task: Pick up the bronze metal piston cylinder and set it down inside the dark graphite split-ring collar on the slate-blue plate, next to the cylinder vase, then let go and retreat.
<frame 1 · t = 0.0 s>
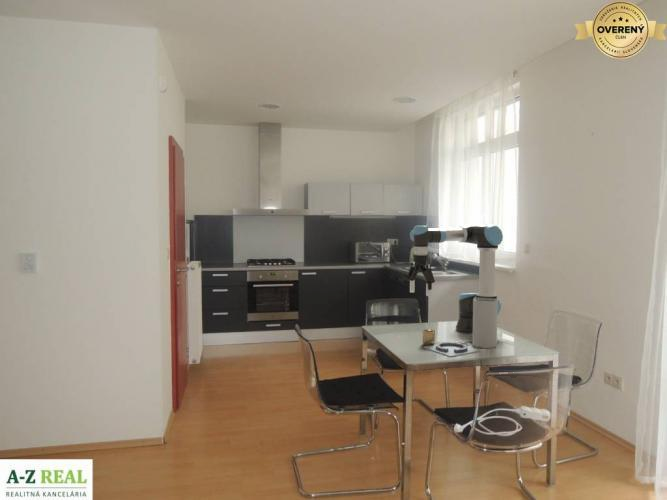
hand: (420, 294, 264), 28 cm above the table, fingers open, 13 cm apart
cylinder vase: (484, 346, 266), on the table
piston ring: (451, 347, 257), on the ring plate, point 1 cm above the table
piston: (428, 345, 267), on the table
ring plate: (451, 349, 258), on the table
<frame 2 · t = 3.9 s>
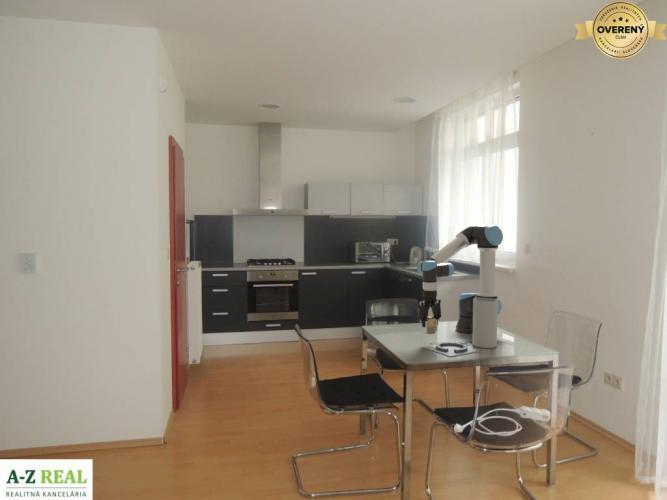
hand: (430, 331, 267), 7 cm above the table, fingers closed on piston, 6 cm apart
piston: (429, 332, 267), point 7 cm above the table, touching gripper
everything else where it was.
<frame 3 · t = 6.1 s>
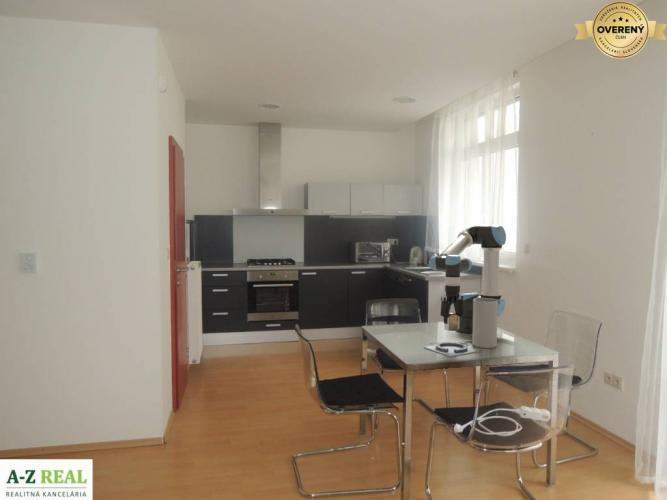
hand: (451, 328, 257), 11 cm above the table, fingers closed on piston, 6 cm apart
piston: (451, 329, 257), point 11 cm above the table, touching gripper
everything else where it was.
when the fingers open (2 cm above the table, at t = 8.4 s): piston stays where it is, resting on ring plate.
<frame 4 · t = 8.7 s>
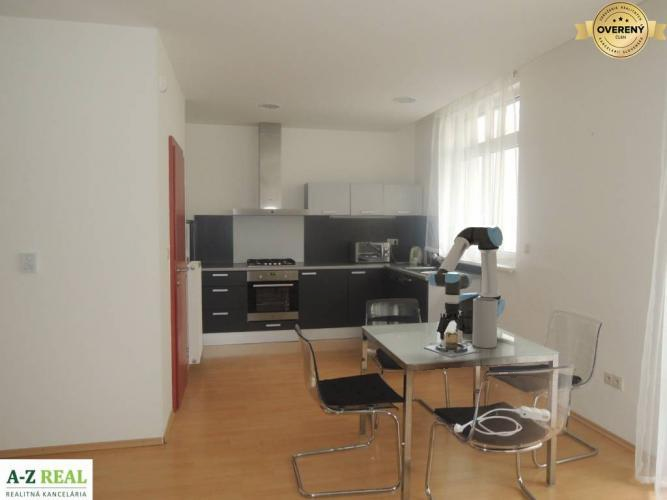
hand: (451, 344, 257), 3 cm above the table, fingers open, 11 cm apart
piston: (451, 348, 258), point 1 cm above the table, touching ring plate
everything else where it was.
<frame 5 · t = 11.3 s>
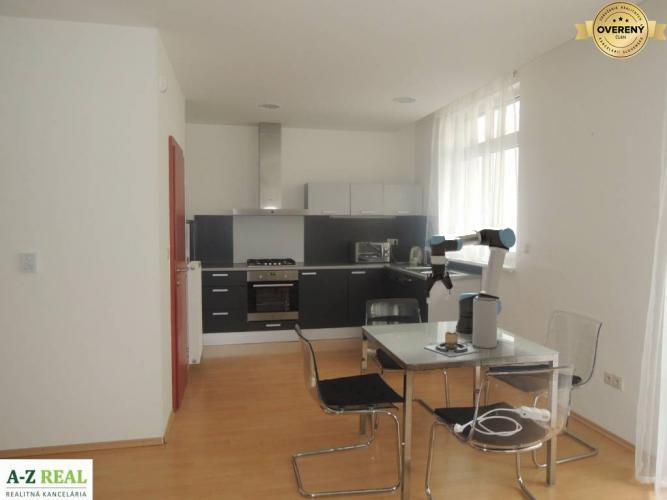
hand: (438, 302, 270), 23 cm above the table, fingers open, 13 cm apart
nothing on the table moved.
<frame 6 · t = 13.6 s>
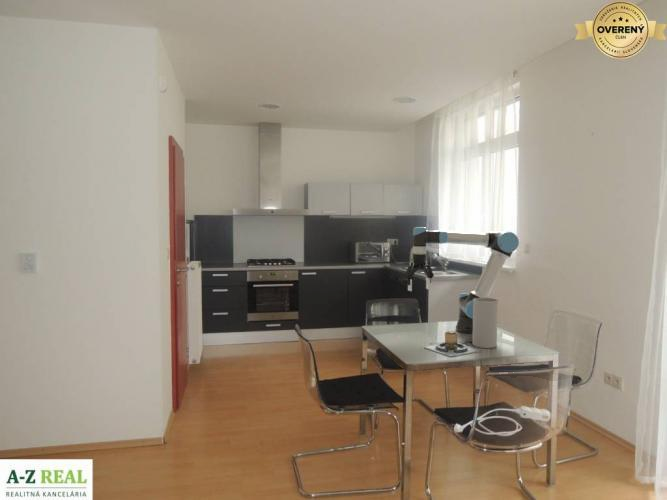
hand: (419, 290, 288), 27 cm above the table, fingers open, 13 cm apart
nothing on the table moved.
at the end: piston 0.4 cm from the piston ring (horizontally); piston tilted 2°; piston point 0.7 cm above the table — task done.
